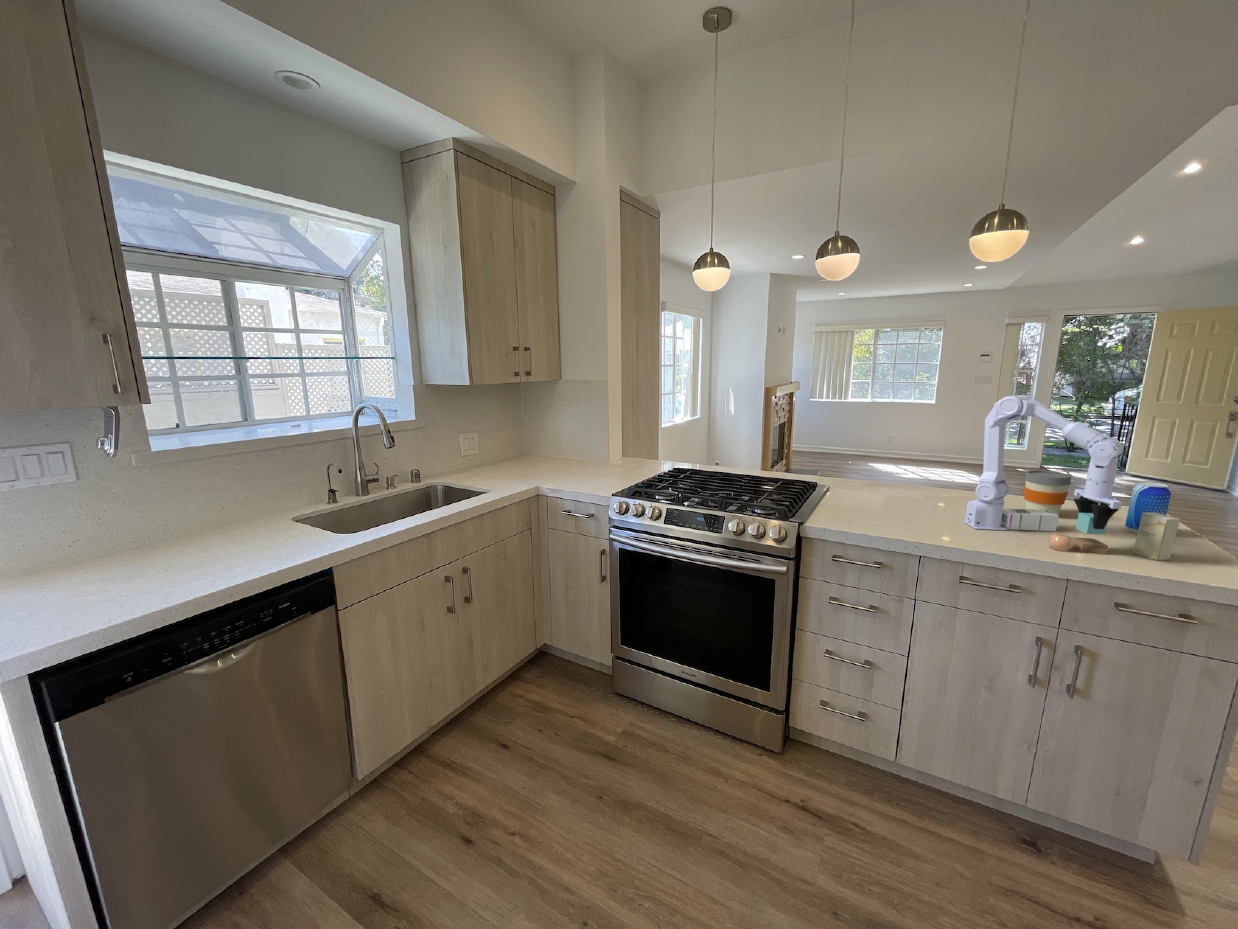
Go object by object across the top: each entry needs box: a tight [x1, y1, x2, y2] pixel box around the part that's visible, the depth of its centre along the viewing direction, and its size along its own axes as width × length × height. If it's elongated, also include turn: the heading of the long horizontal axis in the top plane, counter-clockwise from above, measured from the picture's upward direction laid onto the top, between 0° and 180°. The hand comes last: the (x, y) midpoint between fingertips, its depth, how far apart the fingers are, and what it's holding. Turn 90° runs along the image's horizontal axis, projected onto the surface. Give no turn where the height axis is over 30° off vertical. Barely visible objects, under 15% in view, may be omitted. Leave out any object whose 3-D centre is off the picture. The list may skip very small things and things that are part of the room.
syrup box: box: [1001, 508, 1060, 532], centre depth 163 cm, size 6×6×14 cm
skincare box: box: [1132, 512, 1181, 561], centre depth 137 cm, size 6×4×12 cm
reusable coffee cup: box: [1023, 469, 1072, 515], centre depth 176 cm, size 13×13×15 cm
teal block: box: [1075, 512, 1108, 536], centre depth 142 cm, size 4×4×5 cm
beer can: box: [1124, 481, 1172, 534], centre depth 156 cm, size 8×8×16 cm
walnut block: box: [1070, 536, 1109, 556], centre depth 143 cm, size 6×6×3 cm
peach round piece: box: [1048, 533, 1072, 553], centre depth 144 cm, size 4×4×4 cm
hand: (1091, 525), depth 142 cm, fingers closed on teal block, 4 cm apart
